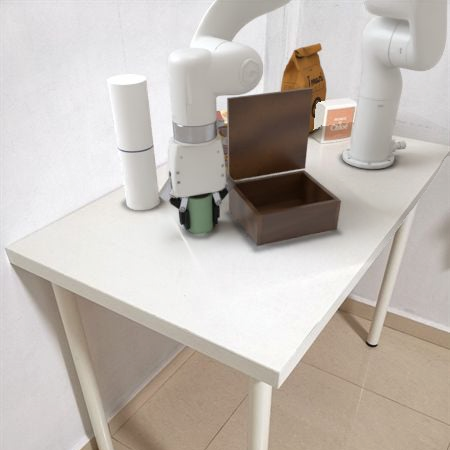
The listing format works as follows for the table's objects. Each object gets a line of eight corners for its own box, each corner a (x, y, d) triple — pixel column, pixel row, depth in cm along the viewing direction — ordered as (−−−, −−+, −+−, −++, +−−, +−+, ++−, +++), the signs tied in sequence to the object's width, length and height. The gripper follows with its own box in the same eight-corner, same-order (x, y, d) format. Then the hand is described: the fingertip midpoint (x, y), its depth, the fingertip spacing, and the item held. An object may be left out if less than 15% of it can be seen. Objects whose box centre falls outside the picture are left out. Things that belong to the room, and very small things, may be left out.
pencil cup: (208, 222, 95) (206, 185, 90) (216, 234, 92) (215, 196, 87) (184, 227, 94) (181, 189, 89) (191, 239, 90) (189, 201, 85)
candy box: (238, 191, 106) (238, 122, 96) (219, 193, 106) (217, 123, 96) (232, 175, 113) (232, 109, 103) (214, 176, 112) (213, 110, 103)
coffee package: (327, 129, 136) (338, 44, 122) (299, 140, 130) (307, 52, 116) (301, 121, 142) (308, 39, 128) (273, 131, 135) (277, 46, 122)
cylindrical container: (126, 211, 99) (106, 85, 84) (126, 196, 105) (107, 75, 89) (160, 208, 100) (146, 83, 84) (158, 193, 106) (145, 73, 90)
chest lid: (313, 88, 88) (300, 81, 91) (228, 98, 83) (218, 91, 87) (305, 168, 97) (294, 159, 101) (229, 181, 93) (220, 171, 97)
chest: (336, 232, 91) (341, 200, 87) (256, 249, 87) (257, 216, 83) (301, 200, 102) (304, 169, 98) (228, 213, 98) (228, 182, 94)
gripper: (233, 117, 85) (233, 208, 97) (141, 129, 81) (152, 223, 92) (249, 130, 80) (247, 225, 91) (151, 144, 75) (162, 241, 87)
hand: (199, 223), depth 92 cm, fingers closed on pencil cup, 5 cm apart
